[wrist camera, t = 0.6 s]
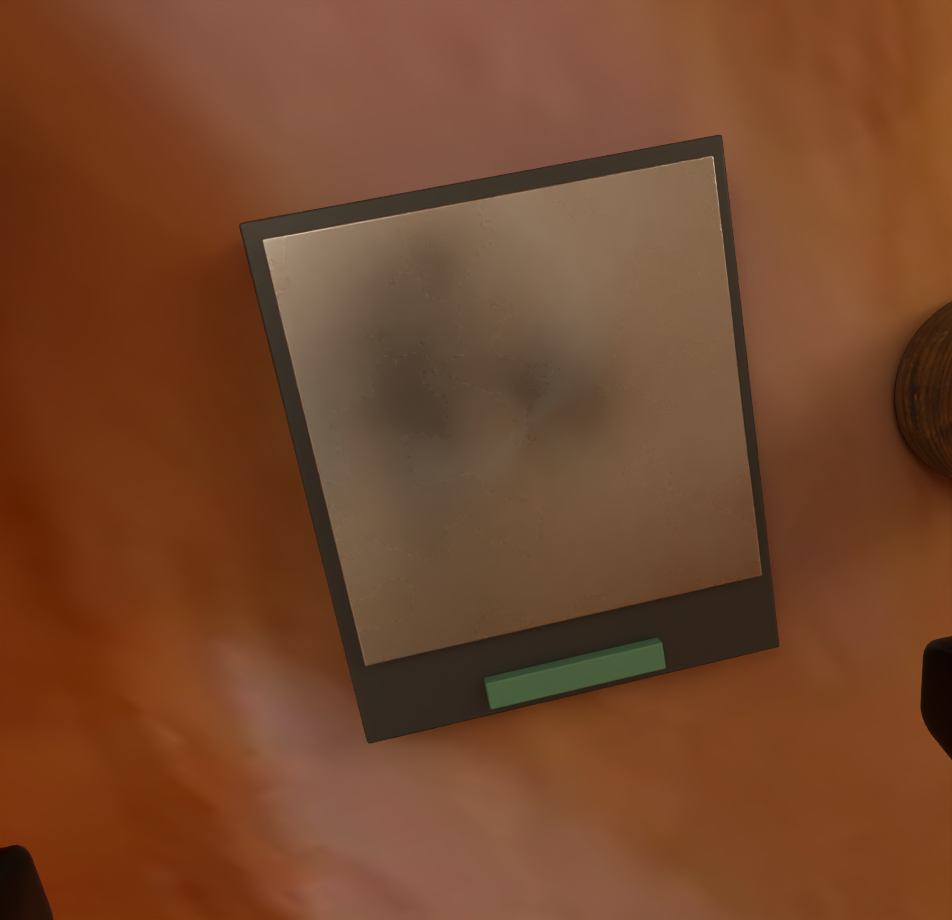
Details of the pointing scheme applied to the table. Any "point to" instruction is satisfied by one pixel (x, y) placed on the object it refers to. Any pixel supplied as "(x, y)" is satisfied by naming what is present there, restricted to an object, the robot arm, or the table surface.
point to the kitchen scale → (524, 430)
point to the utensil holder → (928, 392)
